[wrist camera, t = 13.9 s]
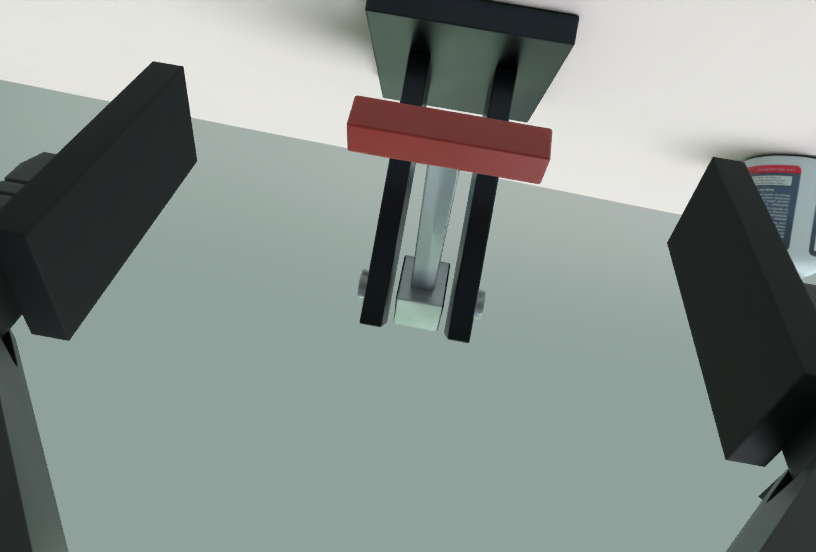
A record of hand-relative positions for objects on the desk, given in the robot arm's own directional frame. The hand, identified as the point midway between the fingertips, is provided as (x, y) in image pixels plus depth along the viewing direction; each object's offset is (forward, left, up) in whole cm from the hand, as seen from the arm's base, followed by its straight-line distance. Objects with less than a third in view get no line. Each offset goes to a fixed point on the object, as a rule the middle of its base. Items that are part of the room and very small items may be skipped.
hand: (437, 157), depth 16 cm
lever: (+10, 0, 0) cm, 10 cm away
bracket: (+14, 0, -9) cm, 16 cm away
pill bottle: (+23, +21, -9) cm, 33 cm away
